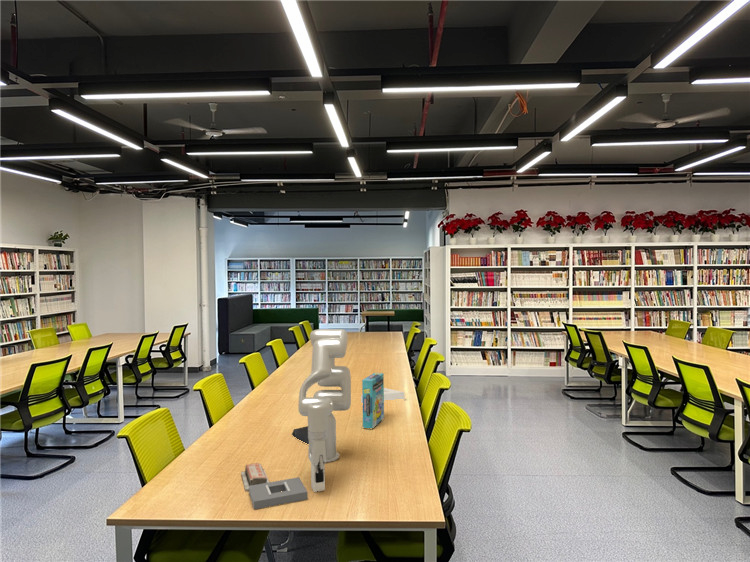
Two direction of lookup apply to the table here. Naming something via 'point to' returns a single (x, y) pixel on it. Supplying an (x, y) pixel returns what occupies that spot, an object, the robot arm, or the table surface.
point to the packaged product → (253, 475)
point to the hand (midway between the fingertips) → (317, 478)
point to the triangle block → (391, 394)
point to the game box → (373, 399)
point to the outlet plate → (277, 493)
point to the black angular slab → (301, 434)
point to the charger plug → (315, 486)
